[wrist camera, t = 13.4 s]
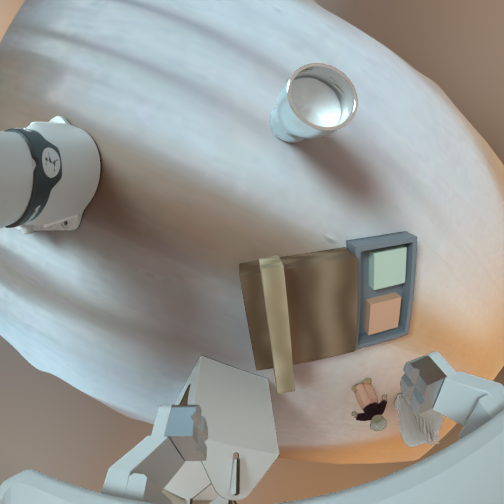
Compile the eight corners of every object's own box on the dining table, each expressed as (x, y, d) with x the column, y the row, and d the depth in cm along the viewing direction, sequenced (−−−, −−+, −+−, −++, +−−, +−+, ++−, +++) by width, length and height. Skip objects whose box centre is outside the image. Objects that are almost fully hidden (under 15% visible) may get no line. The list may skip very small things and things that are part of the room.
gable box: (221, 437, 52) (220, 543, 26) (165, 419, 50) (144, 529, 23) (269, 377, 47) (291, 516, 20) (201, 353, 45) (181, 503, 18)
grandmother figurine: (371, 371, 49) (396, 414, 36) (377, 380, 50) (402, 421, 37) (340, 393, 50) (359, 438, 38) (348, 400, 51) (367, 443, 39)
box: (346, 338, 45) (353, 350, 42) (346, 240, 40) (355, 246, 37) (398, 324, 46) (407, 334, 42) (405, 231, 40) (417, 236, 37)
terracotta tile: (397, 327, 42) (392, 321, 44) (401, 296, 41) (395, 292, 42) (368, 335, 42) (363, 329, 44) (370, 304, 41) (365, 299, 42)
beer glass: (282, 89, 33) (308, 47, 19) (324, 116, 35) (371, 91, 20) (256, 128, 35) (269, 103, 21) (299, 155, 36) (337, 148, 22)
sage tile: (404, 282, 40) (399, 278, 42) (406, 247, 38) (400, 243, 40) (373, 290, 40) (368, 285, 42) (374, 253, 38) (368, 249, 40)
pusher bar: (274, 376, 41) (278, 393, 37) (258, 258, 35) (261, 269, 31) (290, 374, 41) (294, 390, 37) (278, 255, 35) (283, 266, 31)
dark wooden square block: (254, 351, 45) (256, 370, 40) (239, 263, 40) (239, 276, 36) (345, 334, 45) (355, 350, 40) (344, 247, 40) (357, 257, 36)
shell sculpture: (411, 402, 54) (442, 450, 37) (385, 410, 53) (413, 463, 36) (421, 379, 51) (457, 429, 34) (394, 388, 51) (428, 443, 34)
